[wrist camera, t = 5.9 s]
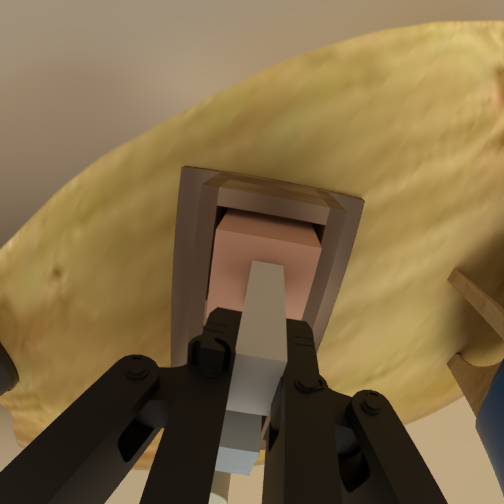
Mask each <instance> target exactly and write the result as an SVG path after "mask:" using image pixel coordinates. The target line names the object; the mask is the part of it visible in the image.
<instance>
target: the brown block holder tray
mask: <svg viewBox="0 0 504 504" xmlns="http://www.w3.org/2000/svg"><path fill="white" fill-rule="evenodd" d="M364 202H365V201H364V200H363V199H361V198H358V197H353V196H349V195H345V194H341V193H336V192H332V191H327V190H323V189H318V188H313V187H309V186H304V185H299V184H294V183H289V182H284V181H278V180H273V179H267V178H262V177H256V176H250V175H244V174H238V173H232V172H225V171H218V170H212V169H204V168H197V167H189V166H184V167H182V169H181V178H180V187H179V196H178V207H177V218H176V230H175V244H174V259H173V278H172V306H171V367H179V366H182V365H185V364H187V356H188V343H189V342H190V341H191V339H192V338H194V337H196V336H198V335H202V333H203V330H204V327H205V325H206V322H207V319H208V318H206V312H207V303H208V293H209V284H210V275H211V267H212V258H213V250H214V242H215V234H216V229H217V227H218V225H219V224H220V222H221V221H222V219H223V217H224V216H225V214H226V213H227V211H228V210H229V208H236V209H242V210H248V211H253V212H259V213H265V214H270V215H276V216H281V217H286V218H292V219H297V220H302V221H307V222H311V224H312V226H313V229H314V231H315V233H316V236H317V238H318V240H319V243H320V245H321V247H322V250H321V253H320V257H319V261H318V265H317V268H316V272H315V276H314V279H313V283H312V286H311V290H310V293H309V297H308V300H307V303H306V307H305V310H304V313H303V317H302V320H301V321H306V322H307V323H308V324H309V326H310V327H311V328H312V330H313V336H314V342H315V349H316V353H317V351H318V348H319V346H320V343H321V340H322V338H323V335H324V332H325V330H326V327H327V324H328V321H329V318H330V316H331V313H332V310H333V307H334V304H335V301H336V298H337V295H338V292H339V289H340V286H341V283H342V280H343V277H344V274H345V270H346V267H347V264H348V261H349V257H350V254H351V251H352V247H353V244H354V240H355V237H356V233H357V229H358V226H359V222H360V218H361V214H362V210H363V206H364ZM270 415H271V410H270V412H269V415H268V416H263V415H262V423H261V438H260V449H261V450H265V448H266V440H263V437H264V434H265V432H266V429H267V427H268V424H269V422H270Z"/></svg>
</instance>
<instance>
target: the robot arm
mask: <svg viewBox="0 0 504 504" xmlns="http://www.w3.org/2000/svg"><path fill="white" fill-rule="evenodd" d="M18 380H19V379H18V374H17V371H16V369H15V367H14V365H13V363H12V361H11V359H10V358H9V356H8V355H7V353H6V352H5V350H4V349H3V347H2V346H1V344H0V396H1V395H2V394H4V393H5V392H6V391H11V390H12V389H13V388H14V387H15V386H16V384H17V383H18ZM226 410H231V411H237V412H243V413H249V414H256V415H263V416H268V415H269V412H270V410H271V415H270V422H269V424H268V427H267V429H266V432H265V434H264V437H263V440H266V452H265V468H264V481H263V495H262V504H448V503H447V501H446V499H445V498H444V496H443V494H442V492H441V490H440V488H439V486H438V485H437V483H436V481H435V479H434V478H433V476H432V474H431V472H430V470H429V469H428V467H427V465H426V463H425V462H424V460H423V458H422V456H421V455H420V453H419V451H418V449H417V448H416V446H415V444H414V443H413V441H412V439H411V437H410V436H409V434H408V433H407V431H406V429H405V427H404V426H403V424H402V422H401V421H400V419H399V417H398V416H397V414H396V412H395V411H394V409H393V407H392V406H391V404H390V403H389V401H388V400H387V399H386V398H385V396H383V395H382V394H380V393H378V392H376V391H373V390H362V391H359V392H357V393H356V394H355V395H354V396H353V397H350V396H347V395H344V394H341V393H338V392H335V391H333V390H332V389H330V388H328V385H327V383H326V380H325V379H324V378H323V377H322V376H321V375H319V369H318V362H317V355H316V349H315V342H314V336H313V330H312V328H311V327H310V326H309V324H308V323H307V322H306V321H301V320H295V319H288V318H286V308H285V286H284V267H283V265H277V264H272V263H266V262H261V261H255V260H252V264H251V270H250V275H249V280H248V286H247V291H246V296H245V301H244V307H243V312H242V311H237V310H231V309H226V308H221V307H217V308H215V309H214V310H213V311H212V312H210V314H209V316H208V319H207V322H206V325H205V327H204V330H203V333H202V335H198V336H196V337H194V338H192V339H191V341H190V342H189V343H188V356H187V364H185V365H182V366H179V367H171V368H167V367H158V365H157V364H156V362H155V361H154V360H152V359H151V358H149V357H147V356H143V355H129V356H125V357H123V358H122V359H120V360H118V361H117V362H116V363H115V364H114V365H113V366H112V367H111V368H110V369H109V370H108V371H107V372H105V373H104V374H103V375H102V376H101V377H100V378H99V379H98V380H97V381H96V382H95V383H94V384H93V385H91V386H90V387H89V388H88V389H87V390H86V391H85V392H84V393H83V394H82V395H81V396H80V397H79V398H78V399H77V400H75V401H74V402H73V403H72V404H71V405H70V406H69V407H68V408H67V409H66V410H65V411H64V412H63V413H62V414H61V415H60V416H59V417H57V418H56V419H55V420H54V421H53V422H52V423H51V424H50V425H49V426H48V427H47V428H46V429H45V430H44V431H43V432H42V433H41V434H40V435H38V436H37V437H36V438H35V439H34V440H33V441H32V442H31V443H30V444H29V445H28V446H27V447H26V448H25V449H24V450H23V451H22V452H21V453H20V454H19V455H18V456H17V457H16V458H15V459H13V460H12V461H11V463H9V464H8V466H6V467H5V468H4V469H3V470H2V471H1V472H0V504H104V503H105V502H106V501H107V499H108V498H109V497H110V496H111V494H112V493H113V492H114V490H115V489H116V488H117V487H118V485H119V484H120V483H121V481H122V480H123V479H124V478H125V476H126V475H127V474H128V472H129V471H130V470H131V468H132V467H133V466H134V464H135V463H136V462H137V461H138V459H139V458H140V457H141V455H142V454H143V453H144V451H145V450H146V449H147V447H148V446H149V445H150V443H151V442H152V440H153V439H154V438H155V436H156V435H157V434H158V432H159V431H160V430H161V428H164V431H163V434H162V437H161V440H160V443H159V446H158V449H157V452H156V455H155V458H154V461H153V464H152V467H151V470H150V473H149V476H148V479H147V482H146V485H145V488H144V491H143V494H142V497H141V500H140V503H139V504H209V499H210V493H211V488H212V482H213V477H214V472H215V466H216V461H217V455H218V450H219V444H220V439H221V433H222V428H223V423H224V417H225V412H226Z"/></svg>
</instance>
